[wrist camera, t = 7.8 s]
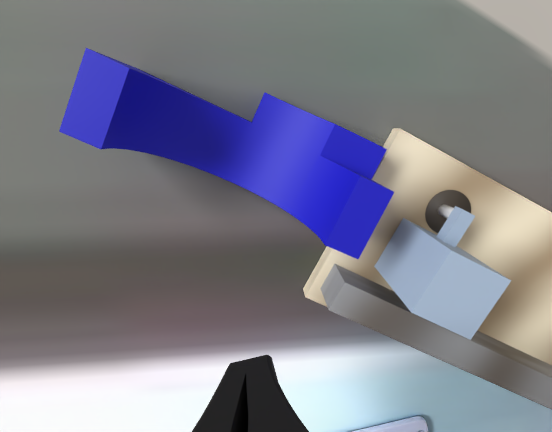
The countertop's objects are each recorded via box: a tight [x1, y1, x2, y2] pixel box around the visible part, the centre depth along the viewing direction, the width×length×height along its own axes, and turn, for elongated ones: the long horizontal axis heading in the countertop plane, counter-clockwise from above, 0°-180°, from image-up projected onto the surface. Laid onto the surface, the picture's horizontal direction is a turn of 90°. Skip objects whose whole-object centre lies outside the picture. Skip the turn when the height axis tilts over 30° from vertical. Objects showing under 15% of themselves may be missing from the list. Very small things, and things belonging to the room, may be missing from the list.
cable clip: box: [59, 48, 394, 259], centre depth 17 cm, size 12×4×6 cm, turn 65°
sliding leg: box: [374, 204, 511, 340], centre depth 18 cm, size 3×5×5 cm, turn 153°
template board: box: [303, 128, 552, 409], centre depth 20 cm, size 22×10×6 cm, turn 63°
